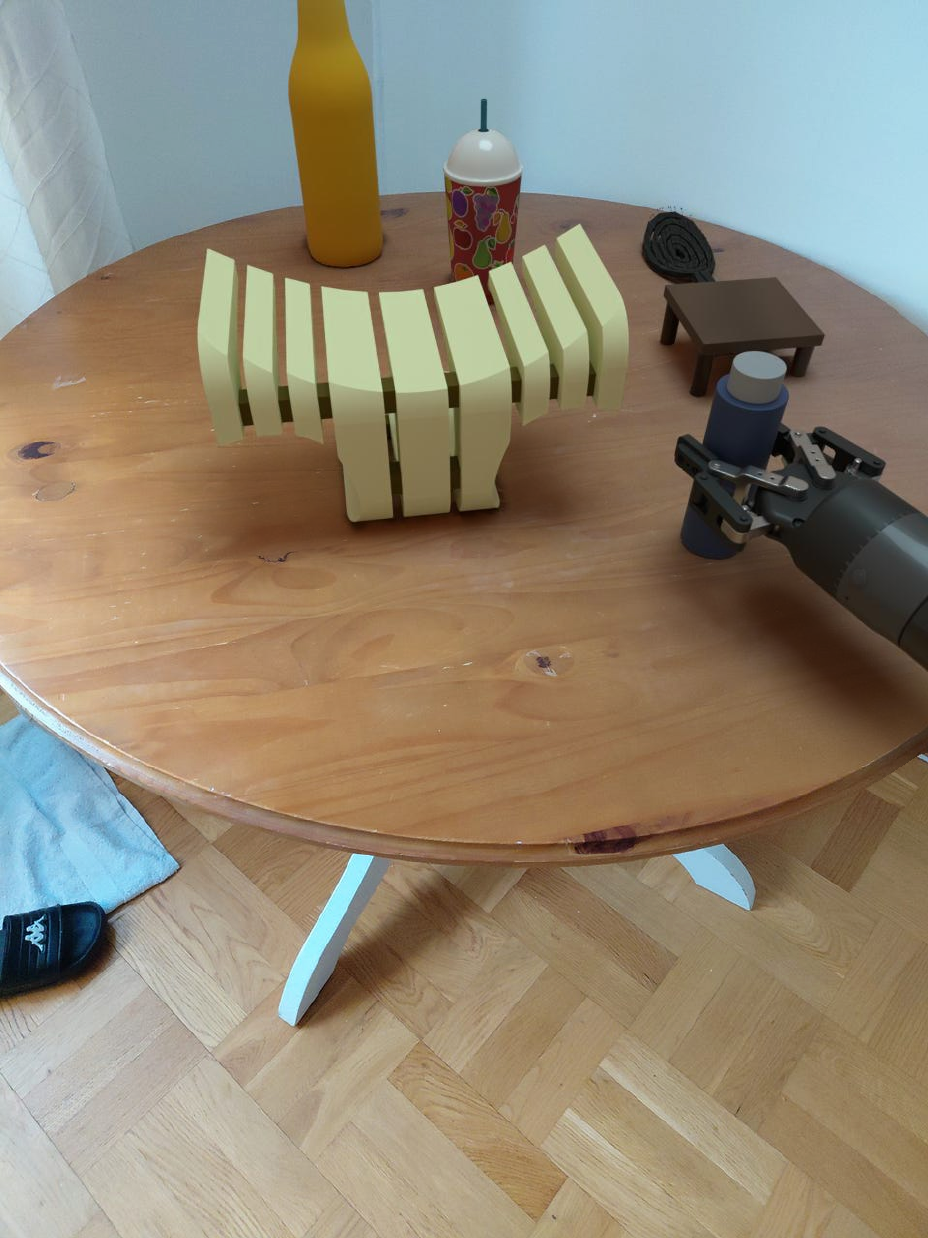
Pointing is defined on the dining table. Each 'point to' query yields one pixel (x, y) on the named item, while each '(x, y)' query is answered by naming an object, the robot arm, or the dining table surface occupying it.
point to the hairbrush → (678, 248)
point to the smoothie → (482, 202)
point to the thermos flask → (740, 433)
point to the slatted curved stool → (417, 371)
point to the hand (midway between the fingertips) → (715, 432)
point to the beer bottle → (334, 138)
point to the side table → (738, 322)
